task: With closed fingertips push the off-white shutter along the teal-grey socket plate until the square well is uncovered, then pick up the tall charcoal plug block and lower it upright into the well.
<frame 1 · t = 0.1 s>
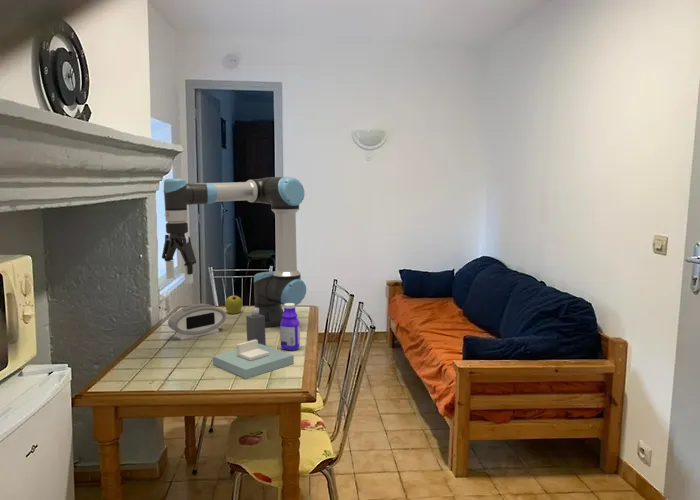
hand: (179, 280, 200), 28 cm above the table, fingers open, 13 cm apart
alarm clock: (198, 335, 231), on the table
plug: (256, 346, 215), on the table
bottle: (290, 349, 211), on the table
apple: (234, 313, 267), on the table
shutter: (252, 349, 194), point 5 cm above the table, slide at 0.0 cm
socket plate: (253, 364, 194), on the table
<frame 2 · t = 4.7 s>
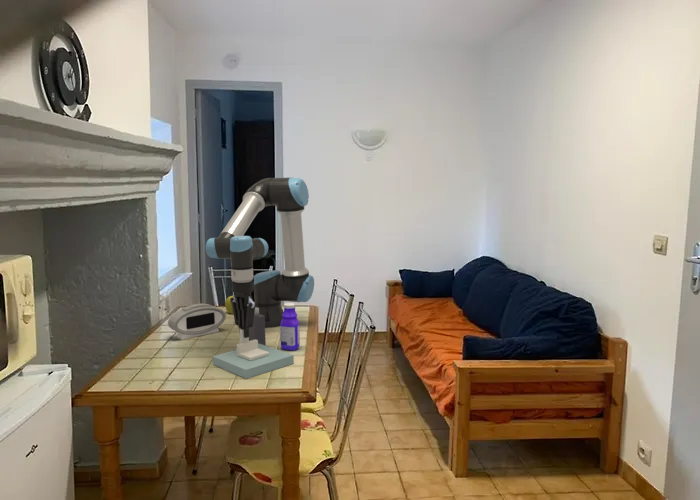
hand: (244, 345, 197), 6 cm above the table, fingers closed
shutter: (252, 349, 194), point 5 cm above the table, slide at 0.0 cm, touching gripper
everything else where it was.
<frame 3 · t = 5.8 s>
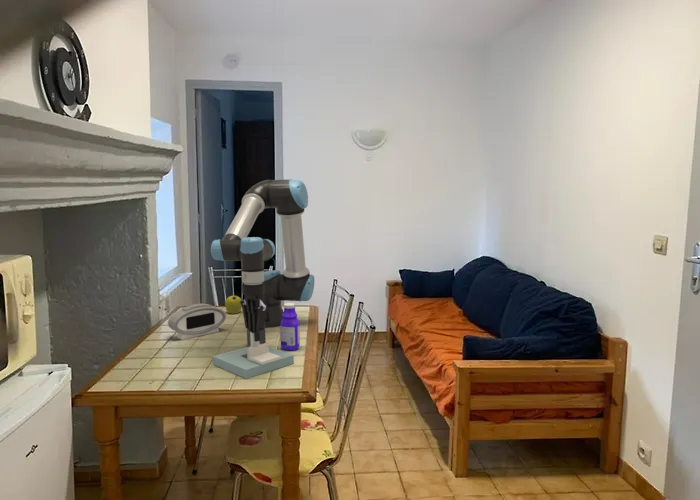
hand: (255, 349, 192), 6 cm above the table, fingers closed
shutter: (263, 353, 189), point 5 cm above the table, slide at 6.4 cm, touching gripper
everything else where it was.
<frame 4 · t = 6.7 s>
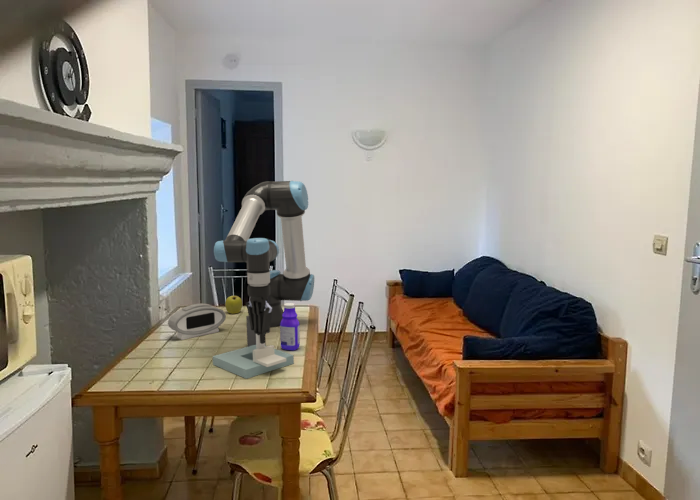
hand: (260, 351, 190), 5 cm above the table, fingers closed
shutter: (269, 355, 187), point 5 cm above the table, slide at 9.5 cm, touching gripper
everything else where it was.
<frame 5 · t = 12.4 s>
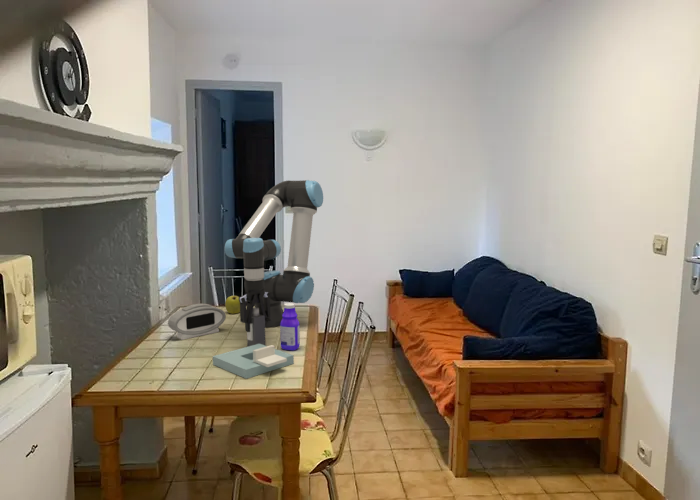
hand: (256, 337, 214), 3 cm above the table, fingers closed on plug, 5 cm apart
plug: (256, 346, 215), on the table, touching gripper
shutter: (269, 355, 187), point 5 cm above the table, slide at 9.7 cm
everything else where it was.
when the fingers open (5 cm above the table, at t = 18.5 s): plug drops 1 cm, resting on socket plate.
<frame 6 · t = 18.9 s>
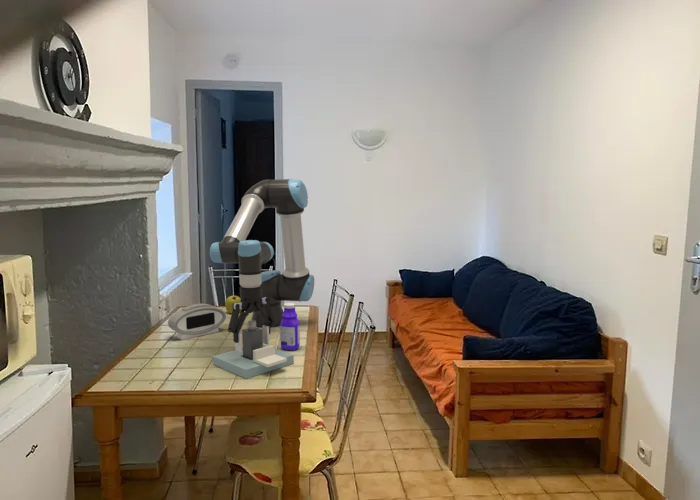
hand: (252, 347, 194), 6 cm above the table, fingers open, 11 cm apart
plug: (253, 362, 194), resting on socket plate
everything else where it was.
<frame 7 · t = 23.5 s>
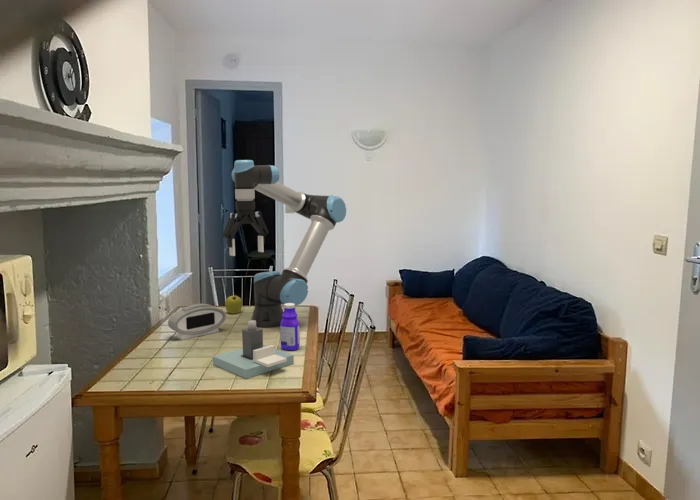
hand: (246, 253, 220), 35 cm above the table, fingers open, 13 cm apart
nothing on the table moved.
at the end: shutter slide at 9.7 cm; plug 0.0 cm off-centre on the socket plate, point 0.4 cm above the socket plate's base; plug tilted 0° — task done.
